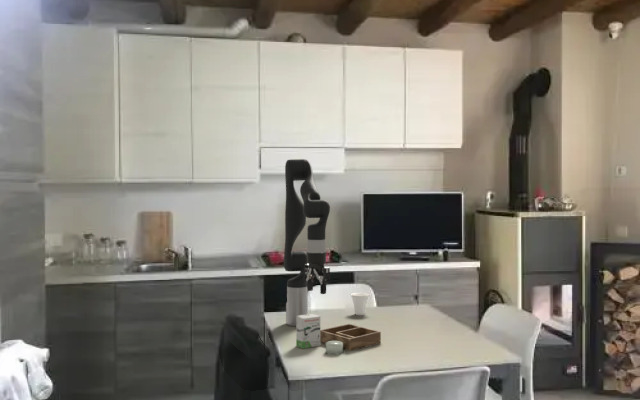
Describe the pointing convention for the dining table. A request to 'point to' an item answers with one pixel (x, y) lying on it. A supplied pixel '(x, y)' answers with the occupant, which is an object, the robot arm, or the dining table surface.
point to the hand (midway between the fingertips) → (316, 292)
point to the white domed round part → (334, 347)
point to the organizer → (351, 336)
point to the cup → (360, 302)
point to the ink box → (308, 331)
